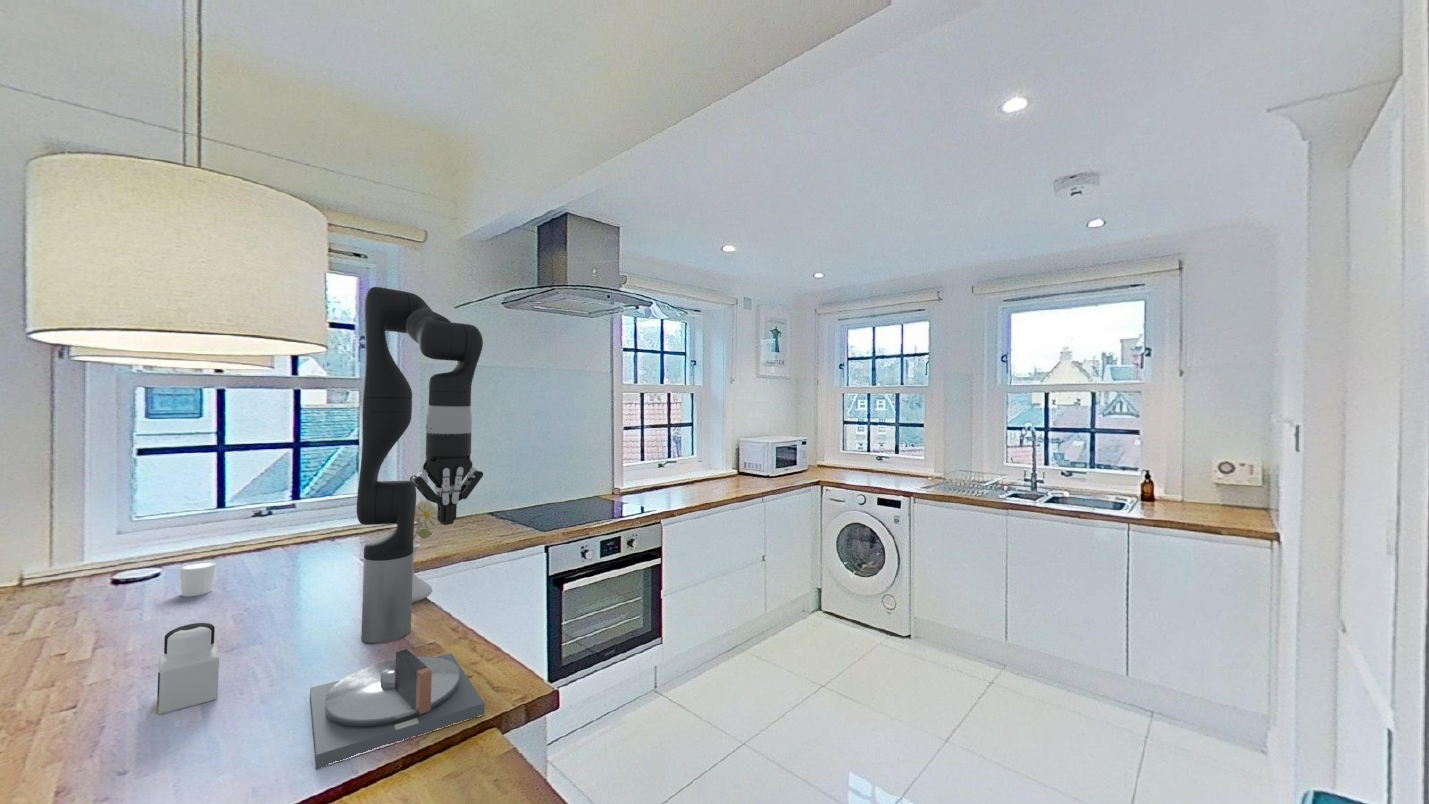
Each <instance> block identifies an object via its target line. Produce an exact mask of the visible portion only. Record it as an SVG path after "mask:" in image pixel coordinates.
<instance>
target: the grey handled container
mask: <svg viewBox="0 0 1429 804" xmlns="http://www.w3.org/2000/svg"><path fill="white" fill-rule="evenodd" d="M215 627H216V626H215V625H213V624H212V623H207V622H194V623H189V624H185V625H181V626H179V627H176V628H174V629H172V630H169V631H168V632H167V633H166V634H165V635H164V648H163V655H161V656H160V657H159V658H158V659H159V660H158V670H157V671H158V672H157V701H156V714H157V715H159V716H160V715H163V714H168V713H170V712H174V711H179V710H181V709H186V708H190V707H194V706H198V705H200V704H206V703H209V702H213V701H215V700H217V699H218V698H219V677H220V676H219V675H220V674H219V673H220V671H219V670H220V668H219V667H220V656H219V649H218V644H215V632H216V631H215Z"/></svg>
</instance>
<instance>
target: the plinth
mask: <svg viewBox="0 0 1429 804" xmlns="http://www.w3.org/2000/svg"><path fill="white" fill-rule="evenodd" d="M436 657H437V658H442V659H446V660H449V661H451V662H453V663H454V664H455V665H456V666H457V667H458V669H459V685H458V687H457V689H456V690H455V692H454V693H453V694H452V695H451V696H450V697H449V698H448V699H446V700H445V701H444V702H442V703H441V704H439V705H437V706H436V707H434V708H432V709H431V710H430V711H428V712H425V713H422V714H420V715H419V714H418V715H416V716H413V717H410V718H407V719H403V720H400V721H396V722H391V723H386V724H380V725H371V726H351V725H344V724H339V723H337V722H334V721H332V720H331V719H329V718H328V717H327V715H326V713H325V698H326V695H327V693H328V692H329V690H330V689H331V688H332V687H333V686H334V685H335V684H336V683H338V682H339V681H341V680H342V679H340V680H337V681H332V682H327V683H324V684H320V685H315V686H311V687H310V688H309V705H310V717H311V718H310V719H311V728H312V730H313V731H312V740H313V742H314V743H313V752H314V753H315V754H314V764H315V765H316V766H315V770H319V769H322V768H321V767H323V768H325V767H324V766H326V765H328V764H329V763H333V762H335V761H340V760H343V759H346V758H349V757H351V756H354V755H356V754H358V753H363V752H366V751H368V750H372V749H374V748H377V747H380V746H382V745H386V744H391V743H395V742H397V741H402V740H403V739H404V740H405V739H407V738H411V737H413V736H418V735H421V734H424V733H427V732H430V731H433V730H435V729H437V728H442V727H445V726H448V725H451V724H453V723H458V722H461V721H464V720H467V719H471V718H474V717H477V716H479V715H483V714H484V715H485V702H484V700H483V698H482V697H481V696H480V694H479V692H478V691H477V690H476V688H475V686H474V685H473V683H472V682H471V680H470V679H469V677H468V676H467V674H466V673H465V671H464V670H463V668H462V666H460V664H459V662H458V660H457V659H456V658H455V656H454V655H453V653H451V652H450V653H446V654H443V655H442V654H441V655H439V656H436ZM326 767H327V766H326ZM318 768H319V769H318Z"/></svg>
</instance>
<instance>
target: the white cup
mask: <svg viewBox="0 0 1429 804" xmlns="http://www.w3.org/2000/svg"><path fill="white" fill-rule="evenodd" d="M216 566H217V563H216V562H212V561H208V562H205V561H204V562H197V563H190V564H187V565H183V566H180V568H179V580H180V589H181V590H180V591H181V596H182V597H197V596H202V595H205V594H208V593H211V592H212V591H213V586H214V580H215V572H216Z"/></svg>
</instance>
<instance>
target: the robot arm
mask: <svg viewBox="0 0 1429 804" xmlns="http://www.w3.org/2000/svg"><path fill="white" fill-rule="evenodd" d="M363 308H364V310H363V313H364V317H363V318H364V344H365V347H364V348H365V365H364V380H363V381H364V383H363V392H362V393H363V395H362V397H363V398H362V420H361V421H362V424H361V425H362V434H361V436H362V438H361V440H362V442H361V443H362V444H361V447H362V448H361V459H360V460H361V461H360V469H359V476H358V477H359V479H358V488H357V497H356V498H357V499H356V516H357V520H358V522H359V523H360V524H361V525H364V526H369V525H370V526H372V525H373V526H374V525H396V529H394V530H393V531H391V532H390V533H388V534H385V535H384V536H381V537H377V538H375V539H372V540H370V541H368V542H367V543H366V544H365V545H364V548H363V570H362V571H363V574H362V575H363V577H362V578H363V580H362V603H361V604H362V605H361V606H362V607H361V608H362V609H361V610H362V611H361V632H360V633H361V637H360V638H361V640H362V641H363V642H365V643H367V644H381V643H388V642H393V641H396V640H400V639H402V638H404V637H406V636H407V635H409V634H410V633H411V631H412V609H413V607H412V606H413V602H412V579H413V572H414V560H413V543H414V540H413V537H414V535H415V533H414V531H415V528H414V527H415V520H414V518H415V508H416V505H417V491H419V493H421V495H422V496H423V497H424V499H426V501H428V502H431V503H434V504H437V510H438V512H437V513H438V514H437V515H438V516H437V519H438V521H439V524H441V525H443V526H447V525H448V526H449V525H453V524H454V521H456V520H457V507H458V506H457V504H458V502H460V501H462V500H467V498H468V497H469V496H470V494H471V493H472V492H473V490H474V489H475V488H476V486H477V484H479V482H480V481H481V480H482V478H483V476H484V472H483V471H480V470H478V469H477V468H475V467H473V461H472V459H471V454H472V429H473V427H472V425H473V424H472V423H473V422H472V421H473V417H472V407H471V406H472V404H471V403H472V384H473V380H474V375H475V373H476V369H477V366H478V362H479V359H480V357H481V355H482V350H483V346H484V340H483V335H482V333H481V331H480V330H479V328H477V326H475V325H473V324H470V323H469V324H467V323H459V322H452V321H451V320H450V319H449V318H447V317H445V316H444V315H441V314H439V313H437V312H435V311H434V310H433V309H431V307H430V306H429V305H428V303H426V302H425V300H424V299H423V298H421V297H420V296H419V295H417V294H415V293H412V292H409V291H404V290H398V289H392V288H388V287H387V288H386V287H381V286H372V287H371V288H369V290H368V291H367V292H366V296H365V299H364V307H363ZM386 332H394V333H395V332H396V333H402V334H407V335H408V336H409V338H411V339H412V341H414V342H416V343H417V344H418V346H419V349H420V352H421V354H422V355H423V356H424V357H426V358H428V359H431V360H439V361H451V362H452V361H455V362H456V365H455V367H454V368H453V370H451V371H448V372H442V373H441V372H440V373H436V374H433V375H432V376H431V377H429V378H430V379H429V382H428V409H427V414H426V424H425V430H426V432H425V433H426V435H425V462H424V463H423V466H422V470H421V471H420V472H418V473H417V474H416V475H411V476H410V478H409V480H381V481H380V480H378V478H379V473H380V470H381V467H382V464H383V463H384V461H385V459H386V458H387V456H388V455H389V452H390V451H392V449H393V447H394V446H395V445H396V444H397V442H398V441H399V439H400V438H402V436H403V435H404V434H405V432H406V431H407V429H408V428H409V426H410V424H411V421H412V412H413V409H412V408H413V390H412V388H411V385H410V384H409V382H408V380H407V378H406V376H405V375H404V373H403V372H402V371H401V369H400V367H399V366H398V364H397V363H396V362H395V360H394V358H393V357H392V354H391V352H390V350H389V346H388V342H387V337H386ZM464 479H465V480H464ZM429 480H430V481H431V482H432V483H433V484H434V490H433V489H432V487H430V485H429V484H428V483H429Z"/></svg>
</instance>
